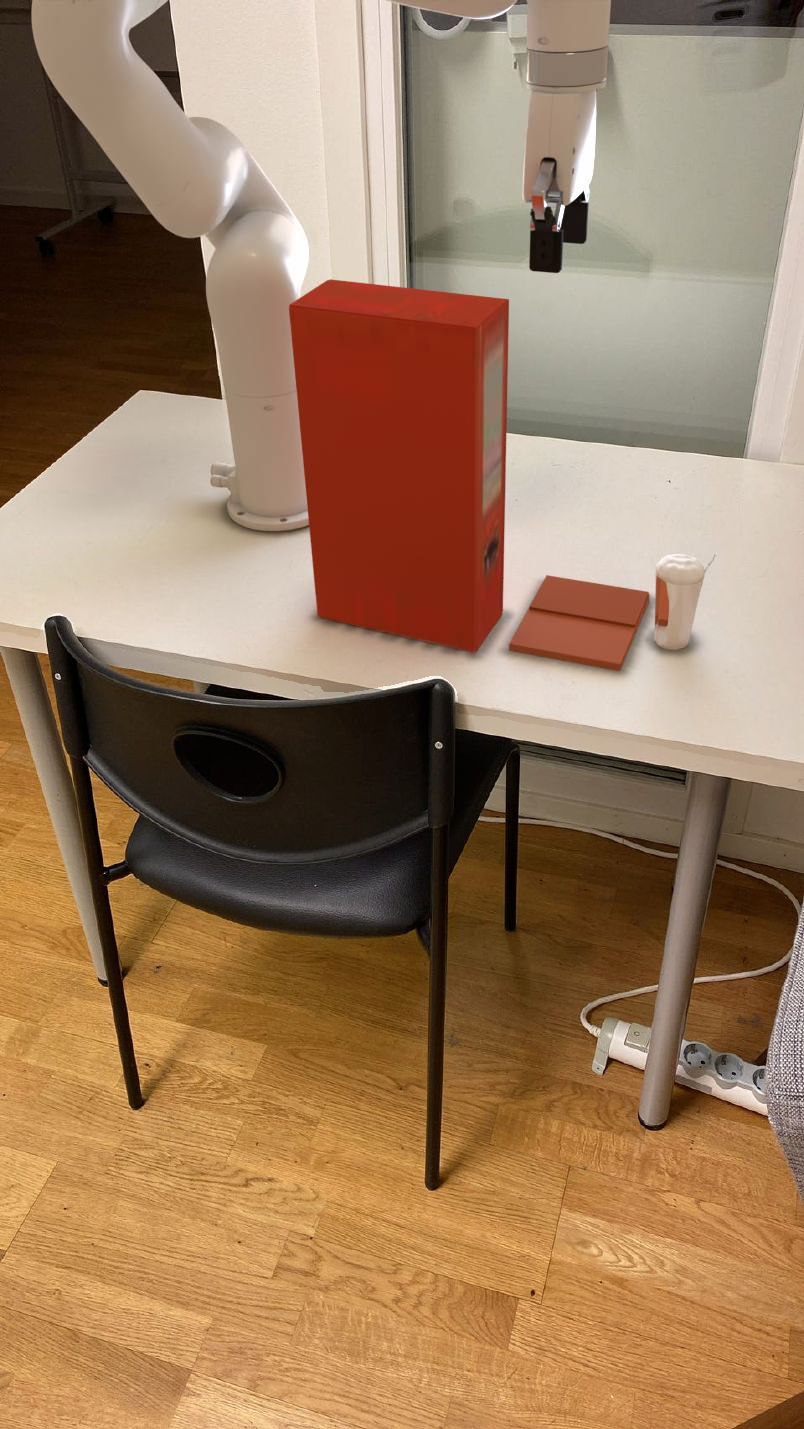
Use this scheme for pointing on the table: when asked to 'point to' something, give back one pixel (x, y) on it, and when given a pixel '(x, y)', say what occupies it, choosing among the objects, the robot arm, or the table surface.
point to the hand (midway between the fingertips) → (558, 256)
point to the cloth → (581, 622)
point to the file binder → (404, 456)
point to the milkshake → (677, 598)
